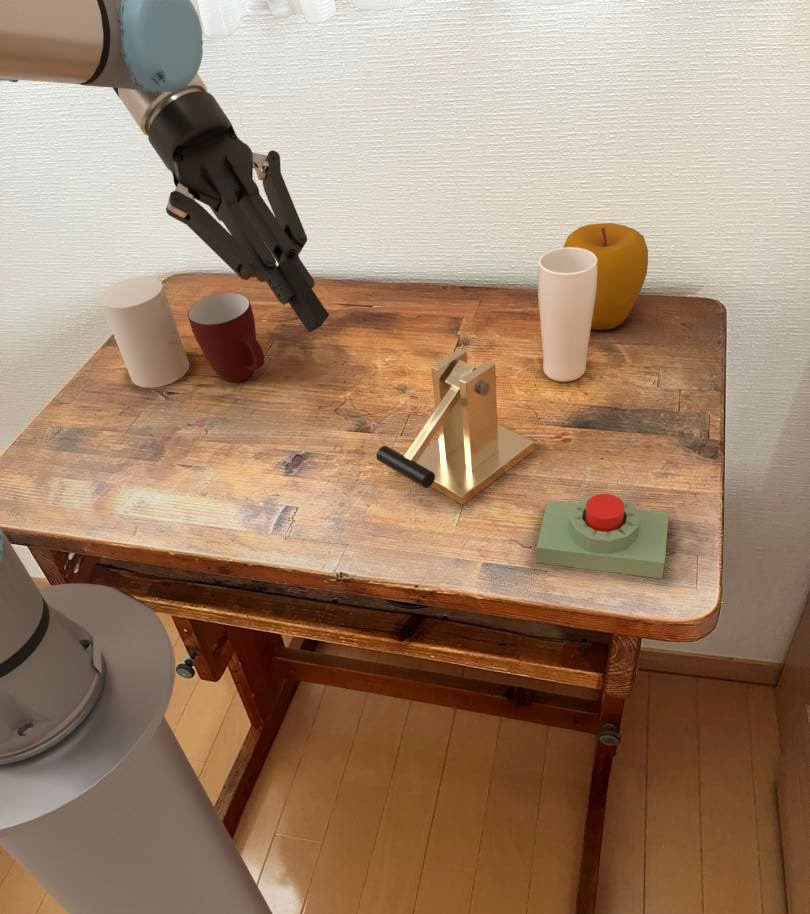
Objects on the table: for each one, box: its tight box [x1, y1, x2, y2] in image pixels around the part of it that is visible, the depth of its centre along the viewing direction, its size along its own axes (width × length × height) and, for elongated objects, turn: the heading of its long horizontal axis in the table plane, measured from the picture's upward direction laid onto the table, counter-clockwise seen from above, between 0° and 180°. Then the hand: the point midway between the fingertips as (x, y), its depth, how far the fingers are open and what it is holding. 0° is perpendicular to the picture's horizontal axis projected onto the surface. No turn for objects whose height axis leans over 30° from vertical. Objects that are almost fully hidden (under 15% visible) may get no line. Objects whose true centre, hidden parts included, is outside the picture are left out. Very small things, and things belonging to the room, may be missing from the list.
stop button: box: [585, 493, 625, 532], centre depth 80 cm, size 4×4×2 cm
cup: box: [99, 276, 190, 389], centre depth 112 cm, size 8×8×12 cm
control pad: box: [535, 493, 670, 579], centre depth 82 cm, size 12×7×4 cm, turn 74°
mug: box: [187, 292, 266, 384], centre depth 109 cm, size 10×8×10 cm
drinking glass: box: [537, 247, 598, 383], centre depth 100 cm, size 7×7×15 cm
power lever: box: [376, 360, 477, 489], centre depth 87 cm, size 13×7×2 cm
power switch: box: [416, 348, 535, 506], centre depth 90 cm, size 12×9×13 cm
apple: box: [562, 222, 649, 331], centre depth 108 cm, size 11×11×13 cm
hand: (318, 323), depth 82 cm, fingers closed
